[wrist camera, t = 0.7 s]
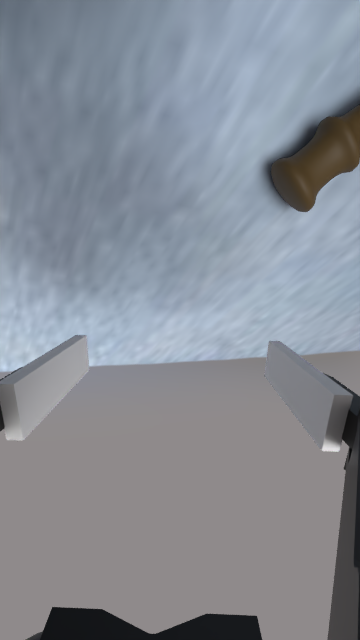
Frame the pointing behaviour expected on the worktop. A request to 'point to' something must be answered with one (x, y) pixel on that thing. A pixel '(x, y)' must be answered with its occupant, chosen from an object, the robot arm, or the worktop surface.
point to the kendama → (319, 160)
